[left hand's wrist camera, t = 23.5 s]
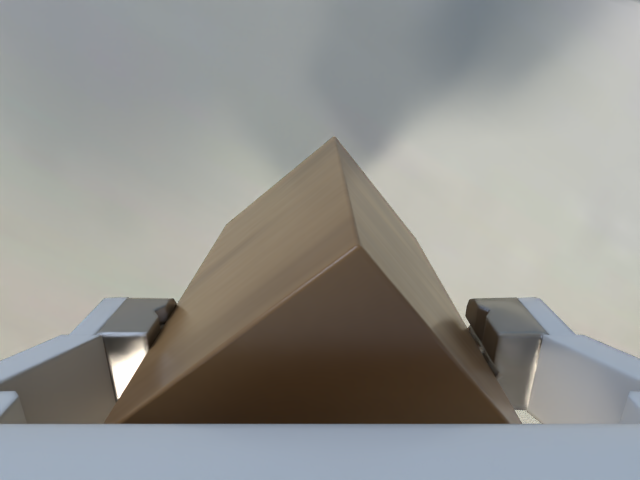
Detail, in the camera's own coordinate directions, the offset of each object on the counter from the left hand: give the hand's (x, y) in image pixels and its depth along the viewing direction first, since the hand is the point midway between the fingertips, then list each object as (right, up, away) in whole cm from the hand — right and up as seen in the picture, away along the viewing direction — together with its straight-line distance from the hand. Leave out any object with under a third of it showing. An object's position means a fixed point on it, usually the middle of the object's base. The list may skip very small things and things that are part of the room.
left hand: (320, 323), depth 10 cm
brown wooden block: (0, +2, +5) cm, 6 cm away
